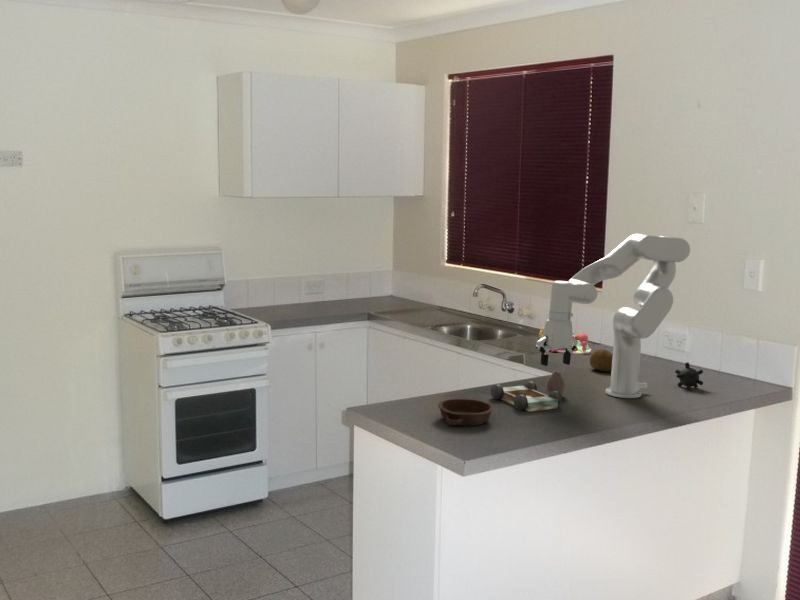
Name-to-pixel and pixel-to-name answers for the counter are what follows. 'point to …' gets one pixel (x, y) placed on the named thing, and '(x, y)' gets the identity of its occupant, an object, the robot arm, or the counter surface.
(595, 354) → the potato
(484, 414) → the dish
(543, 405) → the cart chassis
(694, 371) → the toy ball
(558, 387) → the brown ovoid
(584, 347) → the pastel sphere sculpture
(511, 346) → the counter surface
